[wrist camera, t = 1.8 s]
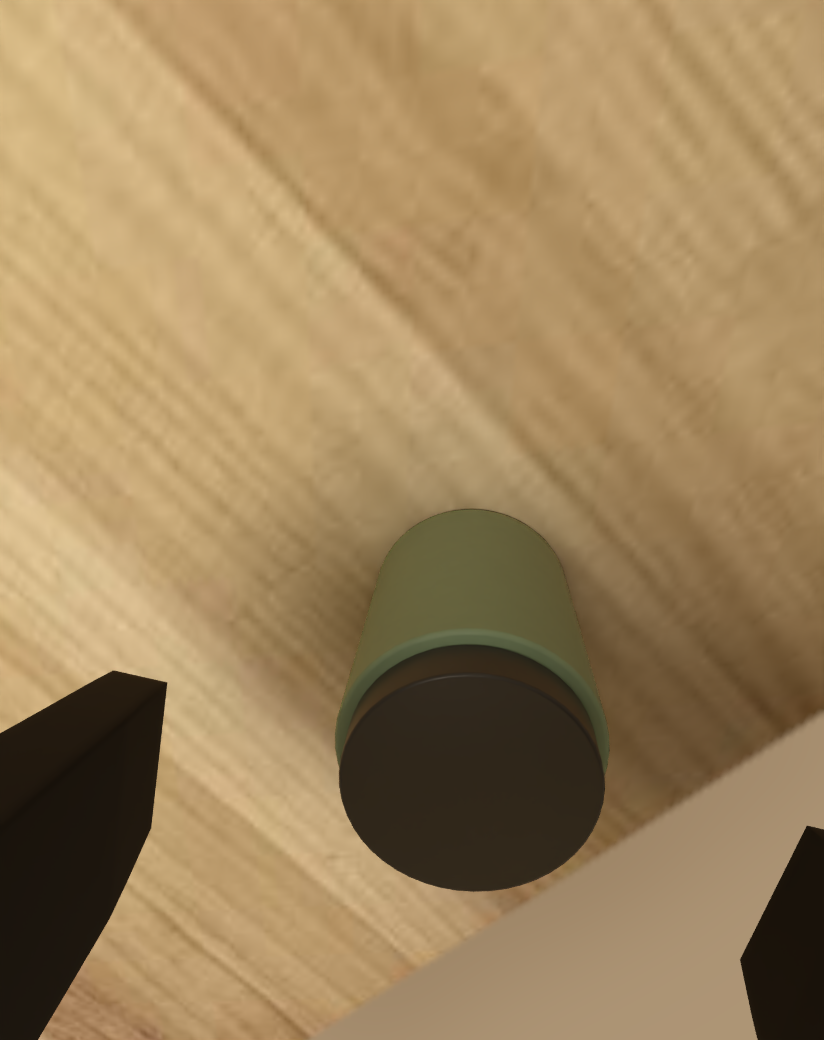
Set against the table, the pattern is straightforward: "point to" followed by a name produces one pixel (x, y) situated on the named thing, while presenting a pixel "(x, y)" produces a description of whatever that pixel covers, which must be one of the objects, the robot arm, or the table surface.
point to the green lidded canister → (472, 710)
